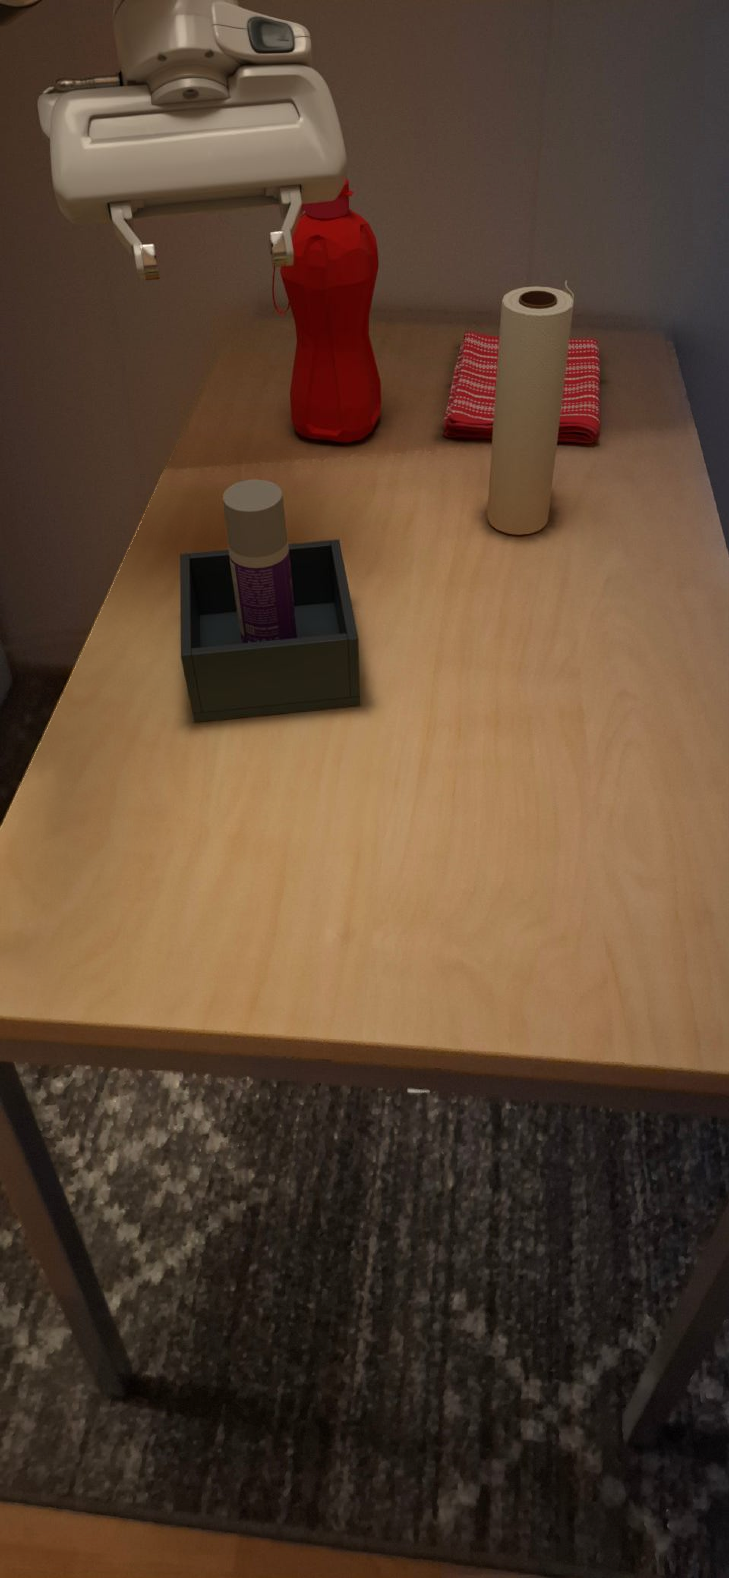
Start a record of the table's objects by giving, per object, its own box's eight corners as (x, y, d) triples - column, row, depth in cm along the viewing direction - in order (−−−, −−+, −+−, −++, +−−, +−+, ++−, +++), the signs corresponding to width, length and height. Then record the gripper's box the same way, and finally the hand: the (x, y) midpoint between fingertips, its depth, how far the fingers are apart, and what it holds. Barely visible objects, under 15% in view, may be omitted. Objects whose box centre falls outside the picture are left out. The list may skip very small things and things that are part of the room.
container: (309, 650, 88) (296, 493, 78) (269, 677, 86) (250, 519, 75) (272, 627, 91) (254, 471, 80) (231, 652, 88) (208, 496, 78)
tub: (193, 722, 84) (180, 655, 79) (192, 619, 93) (180, 553, 88) (360, 705, 85) (358, 638, 80) (342, 605, 94) (339, 539, 89)
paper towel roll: (501, 542, 100) (520, 317, 85) (477, 510, 104) (490, 290, 89) (569, 527, 102) (600, 303, 86) (542, 496, 106) (567, 277, 90)
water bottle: (296, 400, 121) (278, 159, 103) (387, 411, 119) (385, 165, 101) (270, 439, 115) (245, 190, 97) (365, 451, 113) (359, 197, 95)
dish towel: (440, 441, 114) (441, 418, 112) (459, 346, 130) (460, 325, 128) (599, 450, 112) (603, 426, 110) (598, 352, 128) (601, 330, 126)
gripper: (22, 49, 68) (57, 263, 68) (331, 25, 70) (363, 232, 71) (41, 109, 74) (73, 305, 75) (324, 86, 76) (353, 276, 77)
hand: (216, 270), depth 73 cm, fingers open, 8 cm apart
